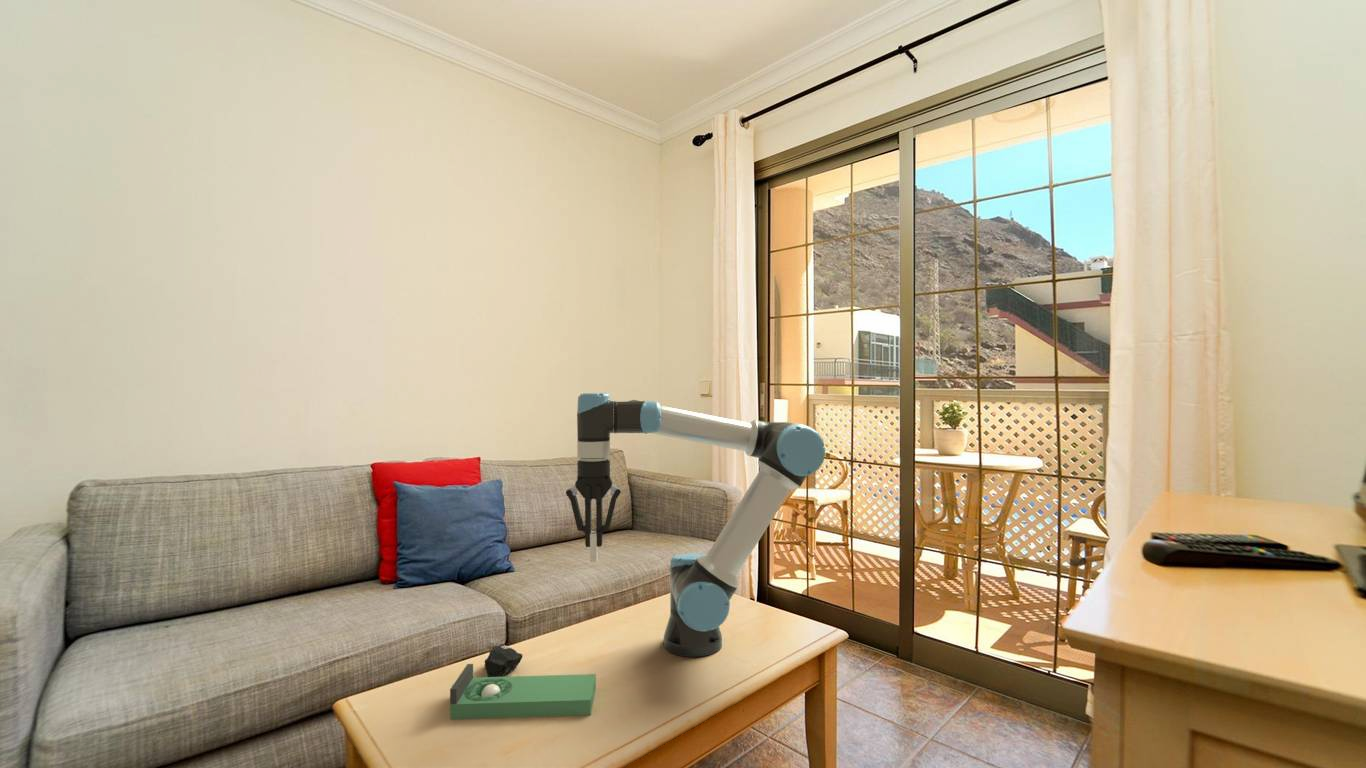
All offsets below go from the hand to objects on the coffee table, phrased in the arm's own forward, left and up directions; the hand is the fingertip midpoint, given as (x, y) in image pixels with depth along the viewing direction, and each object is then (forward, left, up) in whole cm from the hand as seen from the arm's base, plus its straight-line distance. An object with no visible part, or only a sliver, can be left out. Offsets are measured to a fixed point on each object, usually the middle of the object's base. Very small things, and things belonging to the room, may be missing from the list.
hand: (593, 560), depth 136 cm
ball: (+20, +12, -24) cm, 34 cm away
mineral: (+21, -3, -27) cm, 34 cm away
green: (+13, +12, -26) cm, 32 cm away
